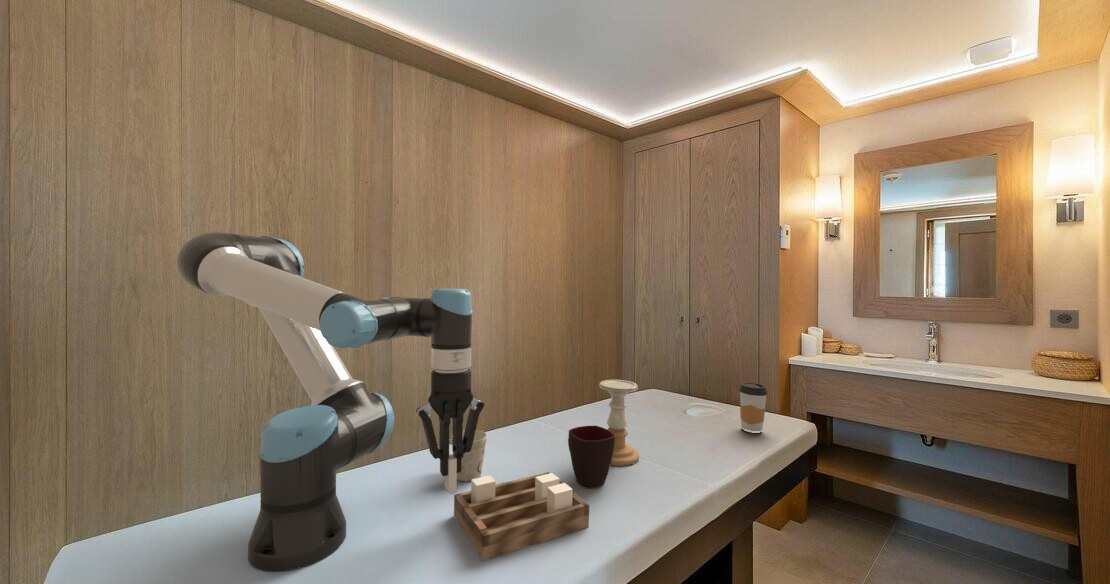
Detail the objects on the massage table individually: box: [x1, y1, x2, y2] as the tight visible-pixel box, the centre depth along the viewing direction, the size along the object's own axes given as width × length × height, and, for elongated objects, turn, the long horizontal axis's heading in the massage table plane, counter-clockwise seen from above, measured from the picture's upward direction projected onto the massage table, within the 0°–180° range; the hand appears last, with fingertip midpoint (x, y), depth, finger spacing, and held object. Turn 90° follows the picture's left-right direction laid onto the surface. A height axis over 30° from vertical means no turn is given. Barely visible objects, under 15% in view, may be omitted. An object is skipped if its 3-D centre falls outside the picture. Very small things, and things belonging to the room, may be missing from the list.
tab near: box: [547, 482, 574, 513], centre depth 86 cm, size 4×3×5 cm
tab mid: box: [535, 472, 560, 501], centre depth 91 cm, size 4×3×5 cm
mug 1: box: [438, 429, 487, 482], centre depth 107 cm, size 8×13×10 cm, turn 78°
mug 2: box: [567, 425, 615, 489], centre depth 106 cm, size 10×14×12 cm
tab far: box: [470, 474, 497, 504], centre depth 89 cm, size 4×3×5 cm
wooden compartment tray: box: [453, 471, 590, 562], centre depth 88 cm, size 22×16×5 cm
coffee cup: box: [739, 382, 768, 431], centre depth 144 cm, size 8×8×15 cm
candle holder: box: [598, 379, 640, 467], centre depth 120 cm, size 12×12×20 cm
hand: (450, 489), depth 85 cm, fingers closed
